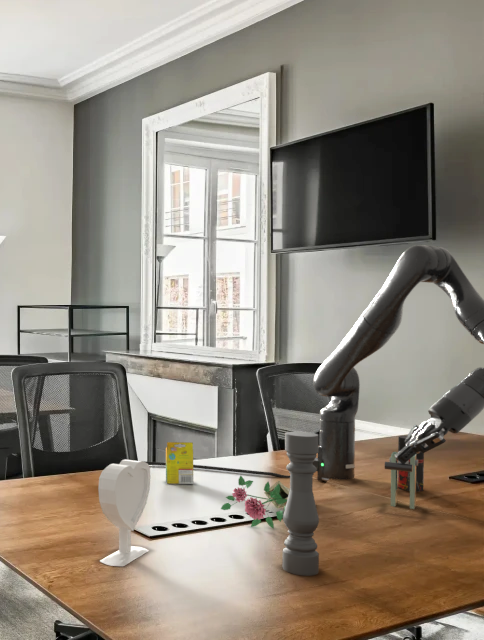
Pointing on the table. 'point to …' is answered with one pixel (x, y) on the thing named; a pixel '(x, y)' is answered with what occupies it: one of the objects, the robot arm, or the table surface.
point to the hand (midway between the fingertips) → (398, 460)
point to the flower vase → (255, 510)
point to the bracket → (412, 481)
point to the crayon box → (179, 463)
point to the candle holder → (301, 505)
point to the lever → (399, 466)
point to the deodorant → (405, 475)
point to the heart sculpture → (124, 504)
